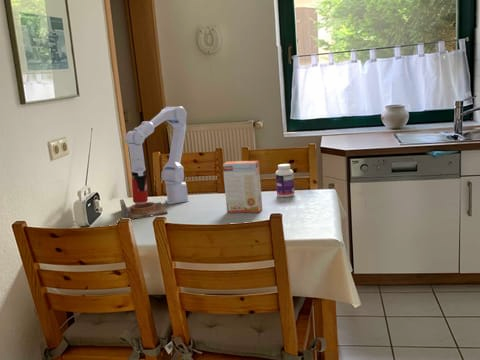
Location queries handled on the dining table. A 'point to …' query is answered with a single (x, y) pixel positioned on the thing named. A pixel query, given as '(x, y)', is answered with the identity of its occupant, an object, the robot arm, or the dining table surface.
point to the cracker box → (242, 186)
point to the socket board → (142, 209)
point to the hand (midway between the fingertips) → (141, 189)
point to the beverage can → (139, 193)
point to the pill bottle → (284, 181)
